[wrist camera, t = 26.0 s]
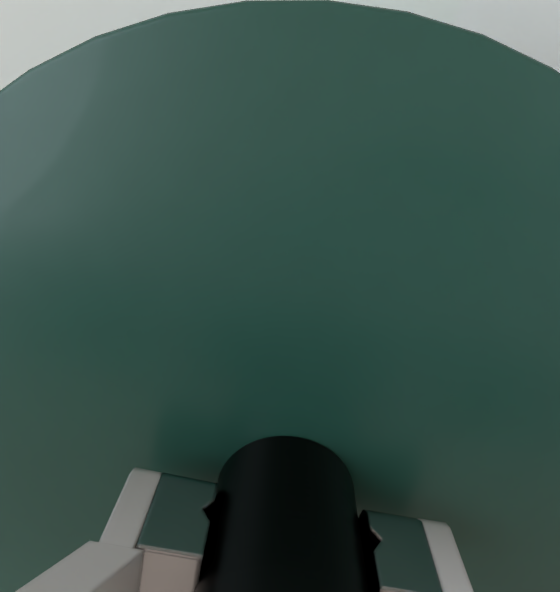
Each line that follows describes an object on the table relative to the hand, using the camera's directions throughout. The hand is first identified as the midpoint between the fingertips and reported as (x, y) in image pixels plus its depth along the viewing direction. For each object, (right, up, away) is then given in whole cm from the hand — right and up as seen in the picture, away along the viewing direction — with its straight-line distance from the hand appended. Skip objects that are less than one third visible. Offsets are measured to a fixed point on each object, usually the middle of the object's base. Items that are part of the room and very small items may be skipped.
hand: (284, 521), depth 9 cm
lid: (0, +1, +1) cm, 1 cm away
